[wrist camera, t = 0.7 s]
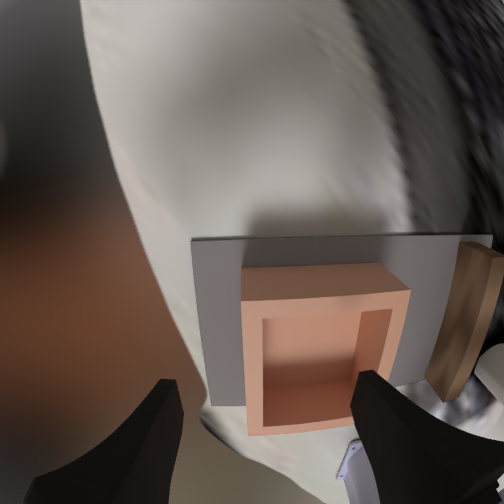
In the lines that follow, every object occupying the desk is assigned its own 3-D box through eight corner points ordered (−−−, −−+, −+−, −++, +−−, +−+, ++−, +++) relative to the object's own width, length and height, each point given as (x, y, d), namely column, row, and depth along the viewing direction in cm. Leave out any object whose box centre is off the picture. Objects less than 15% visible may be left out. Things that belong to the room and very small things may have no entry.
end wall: (439, 371, 22) (459, 396, 18) (424, 376, 22) (443, 402, 18) (474, 241, 18) (507, 256, 14) (459, 241, 18) (492, 258, 14)
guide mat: (454, 368, 22) (455, 369, 22) (211, 404, 22) (211, 406, 21) (491, 234, 18) (493, 235, 18) (191, 240, 18) (190, 241, 17)
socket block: (356, 382, 21) (373, 420, 17) (247, 392, 21) (248, 435, 17) (378, 262, 18) (411, 289, 14) (241, 268, 18) (240, 301, 14)
